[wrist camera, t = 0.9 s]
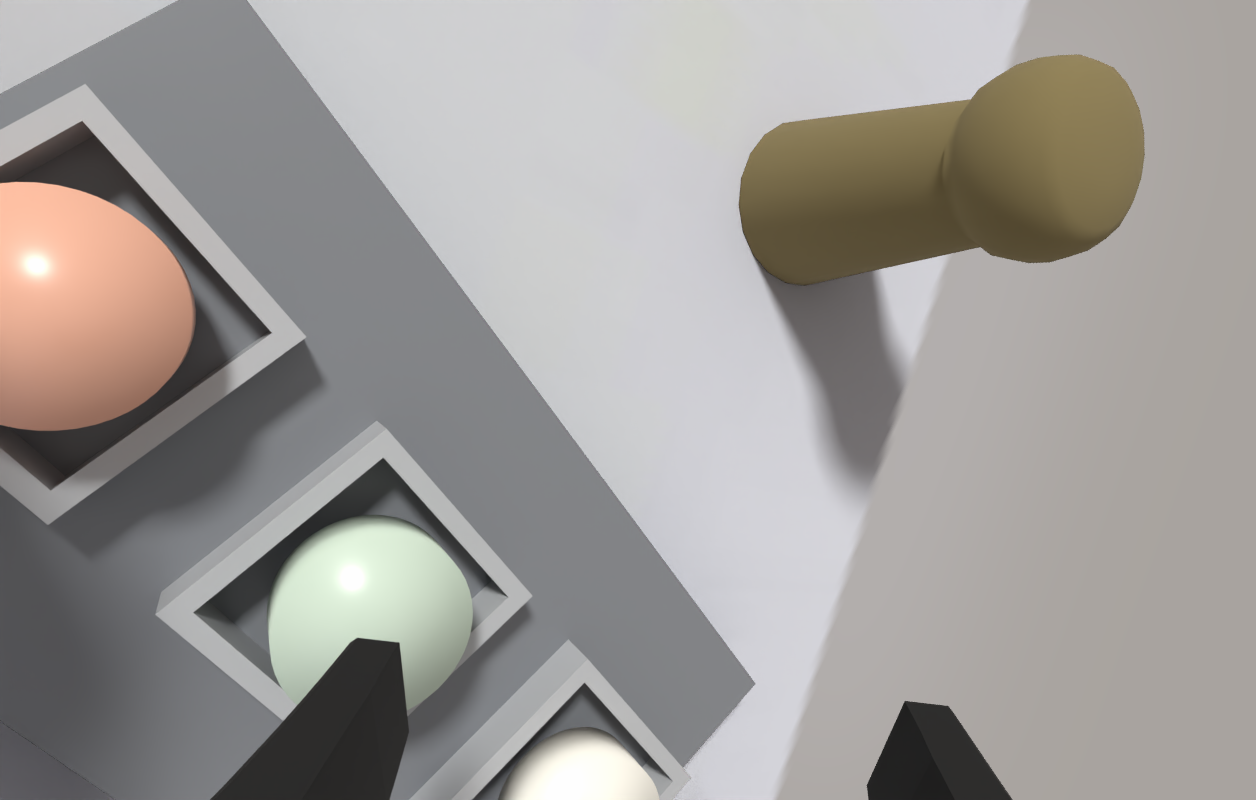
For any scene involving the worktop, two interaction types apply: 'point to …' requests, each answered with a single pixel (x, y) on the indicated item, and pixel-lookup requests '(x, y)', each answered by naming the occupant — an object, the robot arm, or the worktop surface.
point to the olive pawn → (949, 176)
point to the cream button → (578, 770)
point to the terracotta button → (84, 309)
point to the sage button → (368, 604)
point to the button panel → (305, 456)
